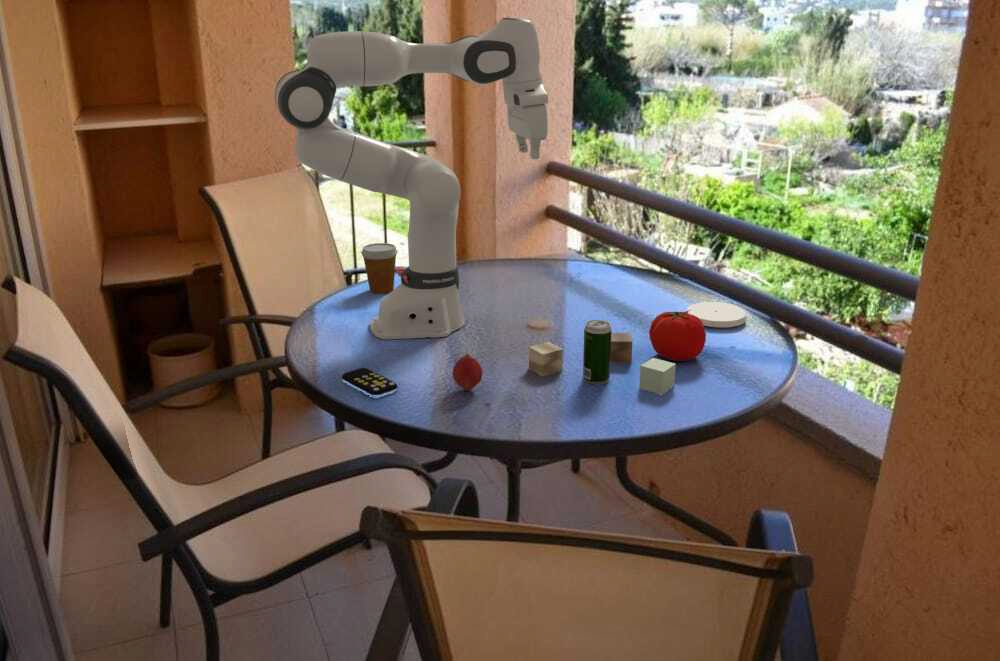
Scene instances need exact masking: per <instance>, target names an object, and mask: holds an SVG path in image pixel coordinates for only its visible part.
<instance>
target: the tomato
mask: <svg viewBox="0 0 1000 661" xmlns="http://www.w3.org/2000/svg"><path fill="white" fill-rule="evenodd" d="M691 310H692V309H691ZM689 311H690V310H689ZM649 327H650V328H649V331H648V333H649V340H650V343H651V346H652V347H653V350H654V351H655V352H656V354H658V355H659V356H661V357H663V358H665V359H666V360H671V361H686V362H687V361H690V360H694V359H695V358H697V357H698V356H699V355H700V354H701V353H702V352H703V350H704V348H705V344H706V339H707V333H706V329H705V326H704V325H703V322H702V321H701V320H700V319H699V318H698V317H696V316H694V315H691V314H689V313H688V311H664V312H662V313H660V314H658V315H656V317H655V318H654V319H653V320H652V321H651V324H650V326H649Z"/></svg>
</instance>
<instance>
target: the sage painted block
mask: <svg viewBox="0 0 1000 661" xmlns="http://www.w3.org/2000/svg"><path fill="white" fill-rule="evenodd" d="M676 366H677V364H676V363H674V362H670V361H667V360H662V359H659V358H655V357H652V358H650V359H648V360H647V361H646V362H644V363H643V364H640V368H639V370H640V373H639V386H638V388H640V390H642V389H644V390H643V391H646V390H648V391H647V392H649V391H651V392H650V393H653V392H655V393H654V394H656V393H659V394H658V395H660V394H663V393H664V394H666V393H667V392H668V391H667V390H669V389H670V388H671V387H673V386H674V387H675V380H676ZM674 387H673V388H674ZM671 389H672V388H671ZM671 389H670V390H671ZM670 390H669V391H670ZM666 391H667V392H666ZM665 392H666V393H665ZM664 394H663V395H664Z"/></svg>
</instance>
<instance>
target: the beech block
mask: <svg viewBox="0 0 1000 661" xmlns="http://www.w3.org/2000/svg"><path fill="white" fill-rule="evenodd" d="M563 352H564V348H561V347H559V346H557V345H556V344H554V343H551V342H550V341H546V342H542V343H540V344H539V343H538V344H534V345H531V346H529V347H528V369H529V370H531V371H532V370H533V371H532V372H534V371H535V372H534V373H536V374H537V373H538V374H537V375H539V374H540V375H541V376H540V375H539V376H540V377H542V376H543V377H546V376H545V375H547V376H550V375H554V374H558V373H562V372H563V359H564V358H563V357H564V354H563ZM557 372H558V373H557ZM553 373H554V374H553ZM549 374H550V375H549Z"/></svg>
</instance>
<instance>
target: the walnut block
mask: <svg viewBox="0 0 1000 661" xmlns="http://www.w3.org/2000/svg"><path fill="white" fill-rule="evenodd" d="M632 338H633V337H632V334H631V332H611V357H610V364H632V360H633V339H632Z"/></svg>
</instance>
